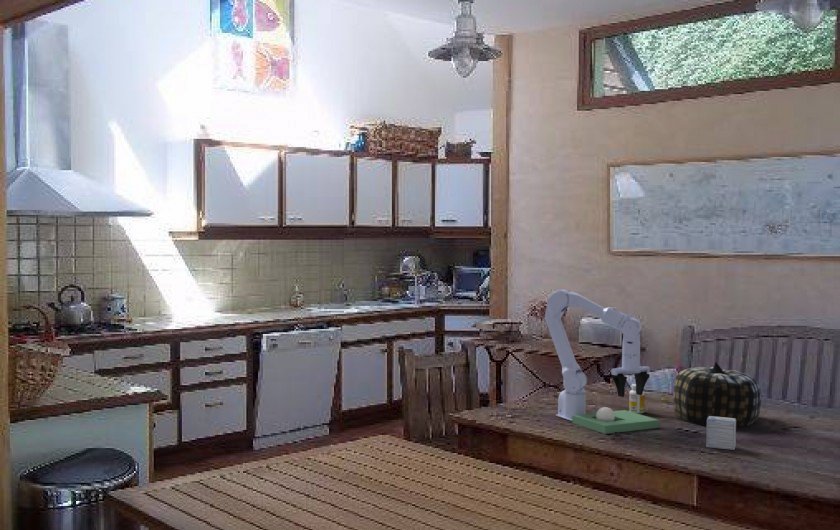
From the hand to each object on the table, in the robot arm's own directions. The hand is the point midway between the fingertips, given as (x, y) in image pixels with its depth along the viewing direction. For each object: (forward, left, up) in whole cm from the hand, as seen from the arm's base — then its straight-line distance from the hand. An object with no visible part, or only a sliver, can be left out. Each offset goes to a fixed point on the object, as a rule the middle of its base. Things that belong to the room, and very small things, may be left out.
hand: (630, 395), depth 282 cm
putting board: (0, -6, -9) cm, 11 cm away
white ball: (0, -10, -6) cm, 12 cm away
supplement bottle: (-14, +15, -10) cm, 23 cm away
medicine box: (+36, +4, -10) cm, 37 cm away
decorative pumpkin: (+5, +33, -10) cm, 35 cm away
